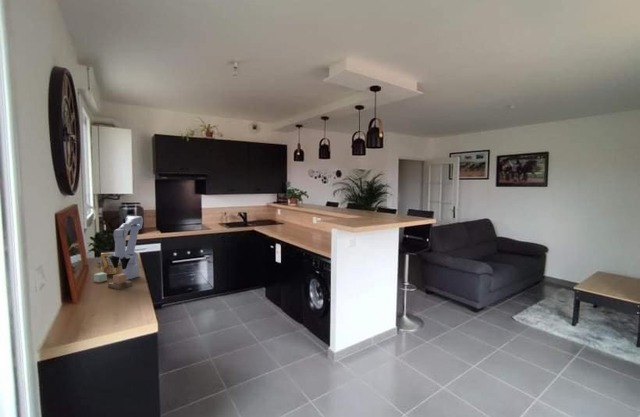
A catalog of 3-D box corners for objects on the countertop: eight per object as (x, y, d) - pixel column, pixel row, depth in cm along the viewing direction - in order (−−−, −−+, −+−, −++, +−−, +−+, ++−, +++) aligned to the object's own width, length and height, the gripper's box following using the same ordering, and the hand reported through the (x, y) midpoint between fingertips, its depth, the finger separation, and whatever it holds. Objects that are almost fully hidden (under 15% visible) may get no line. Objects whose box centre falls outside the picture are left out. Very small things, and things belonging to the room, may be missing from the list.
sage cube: (101, 279, 203) (101, 272, 203) (106, 280, 202) (106, 273, 201) (93, 281, 199) (93, 274, 198) (99, 282, 197) (99, 275, 197)
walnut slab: (121, 284, 197) (121, 279, 197) (131, 286, 194) (131, 281, 194) (108, 288, 188) (108, 283, 188) (118, 290, 185) (118, 285, 185)
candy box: (115, 272, 220) (115, 251, 220) (116, 273, 217) (116, 252, 216) (100, 274, 215) (100, 252, 214) (101, 275, 212) (101, 254, 211)
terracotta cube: (120, 280, 194) (120, 273, 194) (126, 282, 192) (126, 274, 192) (113, 282, 189) (113, 275, 189) (118, 284, 188) (118, 276, 187)
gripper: (106, 247, 193) (105, 268, 193) (122, 249, 188) (122, 271, 188) (116, 245, 199) (116, 266, 200) (132, 247, 194) (132, 268, 195)
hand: (119, 268), depth 194 cm, fingers open, 7 cm apart
